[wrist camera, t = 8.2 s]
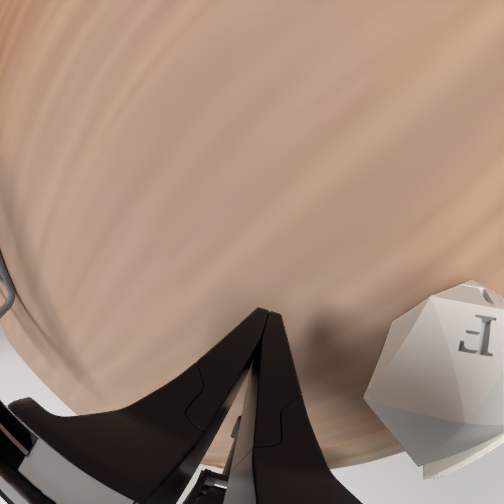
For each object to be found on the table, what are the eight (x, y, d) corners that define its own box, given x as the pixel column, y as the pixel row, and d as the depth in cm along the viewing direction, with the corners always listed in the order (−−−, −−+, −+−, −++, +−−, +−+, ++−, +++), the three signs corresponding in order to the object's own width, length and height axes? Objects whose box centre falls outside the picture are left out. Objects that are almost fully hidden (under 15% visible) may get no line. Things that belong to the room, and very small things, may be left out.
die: (515, 287, 10) (591, 305, 2) (474, 411, 11) (486, 509, 3) (405, 267, 15) (390, 267, 7) (373, 390, 15) (320, 479, 8)
